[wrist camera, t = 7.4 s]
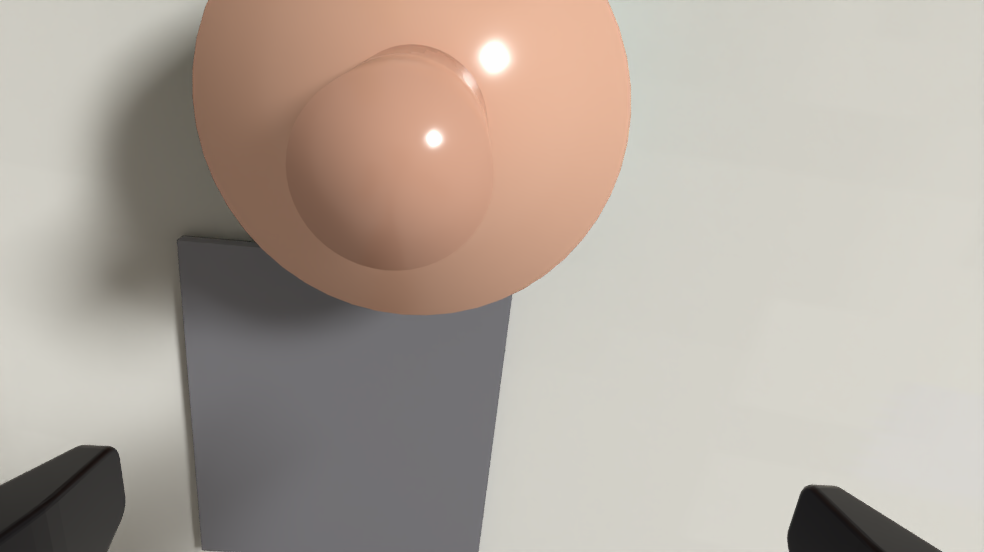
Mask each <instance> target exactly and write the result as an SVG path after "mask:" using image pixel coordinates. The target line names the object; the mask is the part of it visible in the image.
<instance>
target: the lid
mask: <svg viewBox="0 0 984 552" xmlns="http://www.w3.org/2000/svg"><path fill="white" fill-rule="evenodd" d="M192 97H193V105H194V113H195V121H196V127H197V131H198V135H199V139H200V143H201V147H202V151H203V154H204V157H205V160H206V162H207V165H208V167H209V170H210V172H211V175H212V177H213V180H214V182H215V184H216V186H217V187H218V189H219V191H220V193H221V195H222V197H223V198H224V200H225V202H226V204H227V206H228V207H229V209H230V210H231V212H232V213H233V214H234V216H235V217H236V219H237V220H238V221H239V223H240V224H241V226H242V227H243V228H244V230H245V231H246V232H247V233H248V234H249V235H250V236H251V237H252V239H253V240H254V241H255V242H256V243H257V244H258V245H259V246H260V247H261V248H262V250H264V251H265V252H266V253H267V254H268V255H269V256H270V257H272V258H273V259H274V260H275V261H276V262H277V263H278V264H280V265H281V266H282V267H283V268H285V269H286V270H287V271H289V272H290V273H292V274H293V275H295V276H296V277H298V278H299V279H300V280H302V281H303V282H305V283H307V284H309V285H310V286H312V287H314V288H316V289H318V290H320V291H322V292H324V293H326V294H327V295H330V296H332V297H335V298H337V299H340V300H342V301H345V302H348V303H350V304H353V305H357V306H360V307H364V308H368V309H372V310H375V311H381V312H388V313H395V314H402V315H436V314H447V313H455V312H460V311H464V310H469V309H474V308H478V307H481V306H484V305H487V304H490V303H493V302H496V301H499V300H501V299H503V298H506V297H508V296H510V295H512V294H514V293H516V292H518V291H520V290H522V289H524V288H526V287H527V286H529V285H530V284H532V283H533V282H535V281H536V280H538V279H540V278H541V277H543V276H544V275H546V274H547V273H548V272H549V271H550V270H552V269H553V268H554V267H555V266H556V265H558V264H559V263H560V262H561V261H562V260H564V259H565V258H566V257H567V256H568V255H569V253H570V252H571V251H572V250H573V249H574V248H575V247H576V246H577V245H578V244H579V243H580V242H581V241H582V239H583V238H584V237H585V235H586V234H587V233H588V231H589V230H590V228H591V227H592V226H593V224H594V223H595V222H596V220H597V219H598V217H599V215H600V213H601V212H602V210H603V208H604V206H605V204H606V203H607V201H608V199H609V197H610V195H611V193H612V190H613V188H614V185H615V183H616V180H617V178H618V175H619V172H620V170H621V166H622V162H623V158H624V154H625V150H626V146H627V142H628V134H629V126H630V118H631V85H630V77H629V70H628V62H627V56H626V52H625V48H624V44H623V41H622V37H621V33H620V30H619V26H618V24H617V22H616V19H615V17H614V14H613V12H612V10H611V7H610V5H609V2H608V0H208V2H207V5H206V7H205V10H204V13H203V17H202V20H201V24H200V27H199V31H198V35H197V39H196V46H195V53H194V61H193V95H192Z"/></svg>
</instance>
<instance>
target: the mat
mask: <svg viewBox="0 0 984 552" xmlns="http://www.w3.org/2000/svg"><path fill="white" fill-rule="evenodd" d="M177 246H178V258H179V271H180V283H181V295H182V308H183V320H184V332H185V345H186V357H187V369H188V382H189V394H190V407H191V419H192V431H193V444H194V456H195V468H196V481H197V493H198V505H199V518H200V530H201V542H202V550H206V551H223V552H478V551H479V543H480V536H481V528H482V520H483V513H484V505H485V498H486V490H487V482H488V475H489V467H490V460H491V452H492V444H493V437H494V429H495V422H496V414H497V406H498V399H499V391H500V384H501V376H502V368H503V361H504V353H505V346H506V338H507V330H508V323H509V315H510V307H511V300H512V295H510V296H508V297H506V298H503V299H501V300H499V301H496V302H493V303H490V304H487V305H484V306H481V307H478V308H474V309H469V310H464V311H460V312H455V313H447V314H436V315H402V314H395V313H388V312H381V311H375V310H372V309H368V308H364V307H360V306H357V305H353V304H350V303H348V302H345V301H342V300H340V299H337V298H335V297H332V296H330V295H327V294H326V293H324V292H322V291H320V290H318V289H316V288H314V287H312V286H310V285H309V284H307V283H305V282H303V281H302V280H300V279H299V278H298V277H296V276H295V275H293V274H292V273H290V272H289V271H287V270H286V269H285V268H283V267H282V266H281V265H280V264H278V263H277V262H276V261H275V260H274V259H273V258H272V257H270V256H269V255H268V254H267V253H266V252H265V251H264V250H262V248H261V247H260V246H259V245H258V244H257V243H256V242H246V241H235V240H224V239H213V238H202V237H190V236H182V237H180V238H179V239H178V240H177Z"/></svg>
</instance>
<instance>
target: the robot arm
mask: <svg viewBox="0 0 984 552" xmlns="http://www.w3.org/2000/svg"><path fill="white" fill-rule="evenodd" d="M124 508H125V492H124V485H123V478H122V471H121V464H120V457H119V454H118V452H117V450H116V449H115V448H113V447H111V446H95V445H81V446H78V447H75V448H73V449H71V450H69V451H67V452H65V453H63V454H61V455H59V456H57V457H55V458H53V459H51V460H49V461H47V462H45V463H43V464H42V465H40V466H38V467H36V468H34V469H32V470H30V471H28V472H26V473H24V474H22V475H20V476H18V477H16V478H14V479H12V480H10V481H8V482H6V483H4V484H2V485H0V552H107V551H108V549H109V546H110V544H111V542H112V540H113V537H114V535H115V533H116V531H117V528H118V526H119V524H120V521H121V519H122V516H123V513H124ZM787 542H788V549H789V552H942V551H940V550H939V549H937V548H935V547H934V546H932V545H931V544H929V543H927V542H926V541H924V540H923V539H921V538H919V537H918V536H916V535H915V534H913V533H911V532H910V531H908V530H907V529H905V528H903V527H902V526H900V525H899V524H897V523H895V522H894V521H892V520H891V519H889V518H887V517H886V516H884V515H883V514H881V513H880V512H878V511H876V510H875V509H873V508H872V507H870V506H868V505H867V504H865V503H864V502H862V501H860V500H859V499H857V498H856V497H854V496H852V495H851V494H849V493H848V492H846V491H844V490H843V489H841V488H839V487H836V486H829V485H808V486H806V487H804V489H803V490H802V491H801V494H800V496H799V499H798V502H797V505H796V508H795V511H794V514H793V517H792V520H791V523H790V526H789V530H788V536H787Z"/></svg>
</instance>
